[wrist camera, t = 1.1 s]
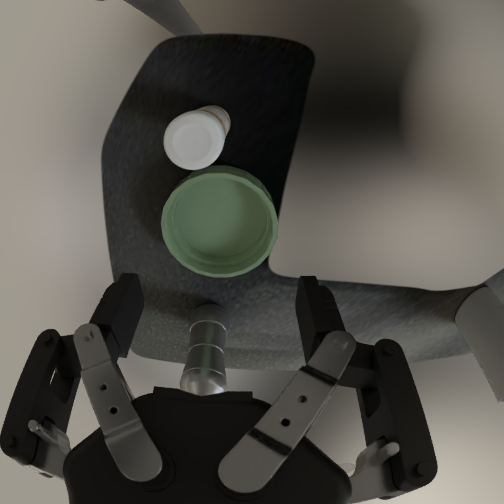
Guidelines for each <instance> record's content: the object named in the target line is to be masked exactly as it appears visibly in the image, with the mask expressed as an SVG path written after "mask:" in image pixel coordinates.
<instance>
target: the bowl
mask: <svg viewBox="0 0 504 504" xmlns="http://www.w3.org/2000/svg"><path fill="white" fill-rule="evenodd" d="M161 228H162V234H163V239H164V241H165V243H166V245H167V247H168V249H169V251H170V253H171V254H172V255H173V256H174V257H175V258H176V259H177V260H178V261H179V262H180V263H181V264H182V265H184V266H185V267H187V268H189V269H191V270H192V271H194V272H196V273H199V274H203V275H207V276H210V277H232V276H236V275H240V274H244V273H246V272H248V271H250V270H252V269H253V268H255V267H257V266H258V265H260V264H261V263H262V262H263V261H264V259H265V258H266V257H267V256H268V255H269V254H270V253H271V251H272V248H273V246H274V244H275V242H276V239H277V230H278V219H277V215H276V211H275V207H274V204H273V201H272V197H271V195H270V193H269V192H268V190H267V189H266V188H265V186H264V185H263V184H262V182H261V181H260V180H258V179H257V178H255V177H254V176H253V175H251V174H250V173H248V172H247V171H245V170H242V169H238V168H235V167H231V166H227V165H222V166H208V167H205V168H202V169H199V170H196V171H193V172H191V173H190V174H189V175H188V176H186V177H185V178H184V179H183V180H181V181H180V182H179V183H178V185H177V186H176V188H175V189H174V191H173V192H172V194H171V195H170V197H169V199H168V200H167V202H166V204H165V205H164V208H163V213H162V218H161Z"/></svg>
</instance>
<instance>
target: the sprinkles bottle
mask: <svg viewBox="0 0 504 504" xmlns="http://www.w3.org/2000/svg"><path fill="white" fill-rule="evenodd" d="M229 129H230V117H229V115H228V113H227V112H226V111H225V110H224V109H223V108H221V107H219V106H215V105H208V106H205V107H202V108H200V109H197V110H195V111H189V112H186V113H184V114H182V115H180V116H178V117H176V118H175V119H174V120H173V121H172V122H171V123H170V124H169V126H168V127H167V129H166V131H165V135H164V148H165V151H166V154H167V156H168V157H169V159H170V160H171V161H172V162H173V163H174V164H176V165H177V166H179V167H181V168H184V169H188V170H198V169H202V168H205V167H207V166H209V165H210V164H212V163H213V162H214V161H215V160H216V159H217V158H218V156H219V155H220V153H221V151H222V148H223V146H224V141H225V137H226V135H227V133H228V131H229Z"/></svg>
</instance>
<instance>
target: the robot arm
mask: <svg viewBox="0 0 504 504" xmlns="http://www.w3.org/2000/svg"><path fill="white" fill-rule="evenodd" d="M295 307H296V315H297V320H298V325H299V330H300V335H301V340H302V345H303V351H304V356H305V361H306V366H302V367H301V368H300V369H299V371H298V372H297V373H296V375H295V376H294V377H293V379H292V380H291V381H290V383H289V384H288V385H287V387H286V388H285V390H284V391H283V392H282V393H281V395H280V396H279V397H278V398H277V400H276V401H275V402H274V404H273V405H270V404H269V403H267V402H265V401H262V400H259V399H255V398H253V397H252V392H236V391H235V392H233V391H231V392H230V391H227V392H222V393H216V394H211V395H205V396H200V395H196V394H193V393H189V392H186V391H183V390H180V389H175V388H165V387H156V386H155V387H154V390H153V393H150V394H146V395H142V396H139V397H137V398H135V397H134V396H133V394H132V392H131V390H130V388H129V386H128V384H127V382H126V380H125V378H124V376H123V374H122V372H121V370H120V368H119V366H118V364H117V360H118V357H123V358H127V354H128V351H129V348H130V345H131V342H132V339H133V336H134V333H135V330H136V328H137V325H138V322H139V319H140V316H141V313H142V311H143V308H144V296H143V293H142V289H141V285H140V281H139V278H138V275H137V274H135V273H122V274H121V276H120V278H119V280H118V281H117V283H112V284H111V285H110V286H109V287H108V288H107V289H106V291H105V292H104V294H103V298H101V300H100V303H99V304H98V306H97V308H96V310H95V312H94V313H93V315H92V317H91V320H90V322H89V323H88V324H84V325H82V326H80V327H79V328H78V329H77V330H76V331H75V333H74V334H73V335H67V336H60V335H59V333H58V332H57V331H56V330H55V329H47V330H45V331H43V332H42V333H41V334H40V335H39V336H38V338H37V340H36V342H35V344H34V346H33V348H32V350H31V353H30V355H29V357H28V359H27V362H26V364H25V366H24V368H23V371H22V373H21V376H20V378H19V381H18V383H17V386H16V388H15V391H14V394H13V397H12V399H11V402H10V405H9V408H8V411H7V414H6V418H5V421H4V424H3V427H2V431H1V435H0V447H1V449H2V451H3V452H4V453H5V454H6V455H7V456H9V457H11V458H12V459H14V460H15V461H17V462H18V463H19V464H21V465H22V466H25V467H26V468H28V469H30V470H32V471H33V472H36V473H39V474H41V475H43V476H45V477H48V478H52V477H56V478H58V479H61V480H64V481H65V484H66V487H67V490H68V495H69V503H70V504H352V503H357V502H362V501H366V500H371V499H375V498H380V499H383V500H386V499H391V498H394V497H397V496H400V495H402V494H405V493H408V492H410V491H413V490H415V489H418V488H420V487H423V486H425V485H427V484H429V483H430V482H431V481H432V480H433V479H434V477H435V476H436V473H437V469H438V468H437V467H438V466H437V460H436V456H435V452H434V448H433V444H432V440H431V436H430V432H429V429H428V425H427V421H426V418H425V414H424V411H423V408H422V404H421V401H420V398H419V395H418V392H417V389H416V386H415V383H414V380H413V377H412V374H411V371H410V369H409V366H408V363H407V360H406V358H405V355H404V352H403V350H402V348H401V346H400V345H399V344H398V343H397V342H395V341H393V340H391V339H381V340H379V341H378V342H377V343H376V344H375V346H374V345H368V344H363V343H359V342H356V341H355V339H354V337H353V336H352V335H351V334H349V333H348V332H346V330H345V327H344V324H343V321H342V319H341V316H340V313H339V310H338V309H337V305H336V302H335V299H334V296H333V294H332V292H331V291H330V290H329V289H328V288H327V287H326V286H319V284H318V281H317V278H316V276H300V278H299V283H298V289H297V295H296V303H295ZM54 370H55V373H54V376H53V379H52V382H51V384H50V381H51V378H52V375H53V372H54ZM81 377H82V380H83V383H84V385H85V388H86V391H87V394H88V397H89V399H90V402H91V405H92V407H93V410H94V412H95V415H96V417H97V419H98V422H99V424H100V427H99V428H98V429H97V430H95V431H94V432H93V433H92V434H91V435H89V436H88V437H87V438H85V439H84V440H83V441H82V442H80V443H79V444H78V445H77V446H76V447H74V448H73V449H72V450H71V448H70V442H69V439H68V437H67V435H66V431H67V427H68V422H69V418H70V414H71V410H72V407H73V403H74V399H75V395H76V392H77V389H78V385H79V382H80V379H81ZM337 385H340V386H346V387H352V388H356V392H357V397H358V401H359V407H360V412H361V417H362V423H363V428H364V434H365V440H366V446H367V448H366V449H364V450H363V451H362V452H361V453H360V454H359V456H358V457H357V460H356V469H355V471H354V473H353V475H352V476H351V477H348V475H347V474H346V472H345V471H344V470H343V469H342V468H341V467H340V466H338V465H337V464H336V463H335V462H334V461H332V460H331V459H330V458H329V457H328V456H327V455H326V454H325V453H323V452H322V451H321V450H320V449H319V448H318V447H317V446H316V445H315V444H313V443H312V442H311V441H310V440H309V439H308V438H307V437H306V435H307V433H308V432H309V430H310V429H311V428H312V426H313V424H314V423H315V421H316V420H317V418H318V416H319V415H320V413H321V412H322V410H323V408H324V407H325V405H326V403H327V402H328V400H329V399H330V397H331V395H332V393H333V392H334V390H335V388H336V387H337Z"/></svg>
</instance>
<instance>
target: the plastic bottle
mask: <svg viewBox="0 0 504 504" xmlns="http://www.w3.org/2000/svg"><path fill="white" fill-rule="evenodd" d="M229 325H230V323H229V318H228V314H227V312H226V311H225V310H224V309H223V308H222V307H220V306H218V305H216V304H203V305H201V306H199V307H198V308H196V309H195V310H194V311H193V313H192V315H191V318H190V325H189V327H190V345H189V352H188V356H187V361H186V364H185V367H184V370H183V373H182V376H181V380H180V389H181V390H183V391H186V392H189V393H193V394H196V395H200V396H205V395H211V394H216V393H222V392H226V391H227V380H226V373H225V364H224V349H225V343H226V337H227V334H228V330H229Z"/></svg>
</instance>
